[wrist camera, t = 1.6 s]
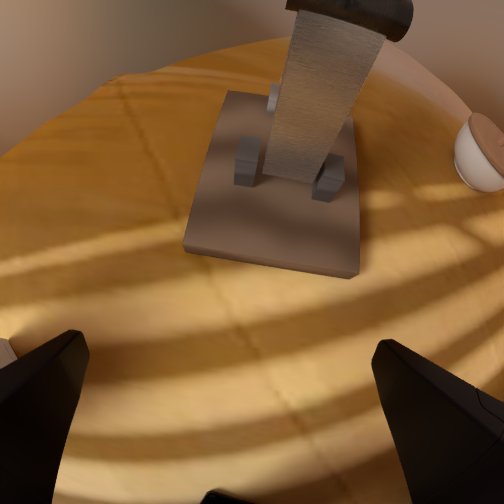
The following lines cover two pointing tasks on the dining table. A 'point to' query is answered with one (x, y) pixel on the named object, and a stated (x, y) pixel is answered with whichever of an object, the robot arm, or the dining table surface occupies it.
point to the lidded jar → (480, 154)
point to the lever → (326, 77)
